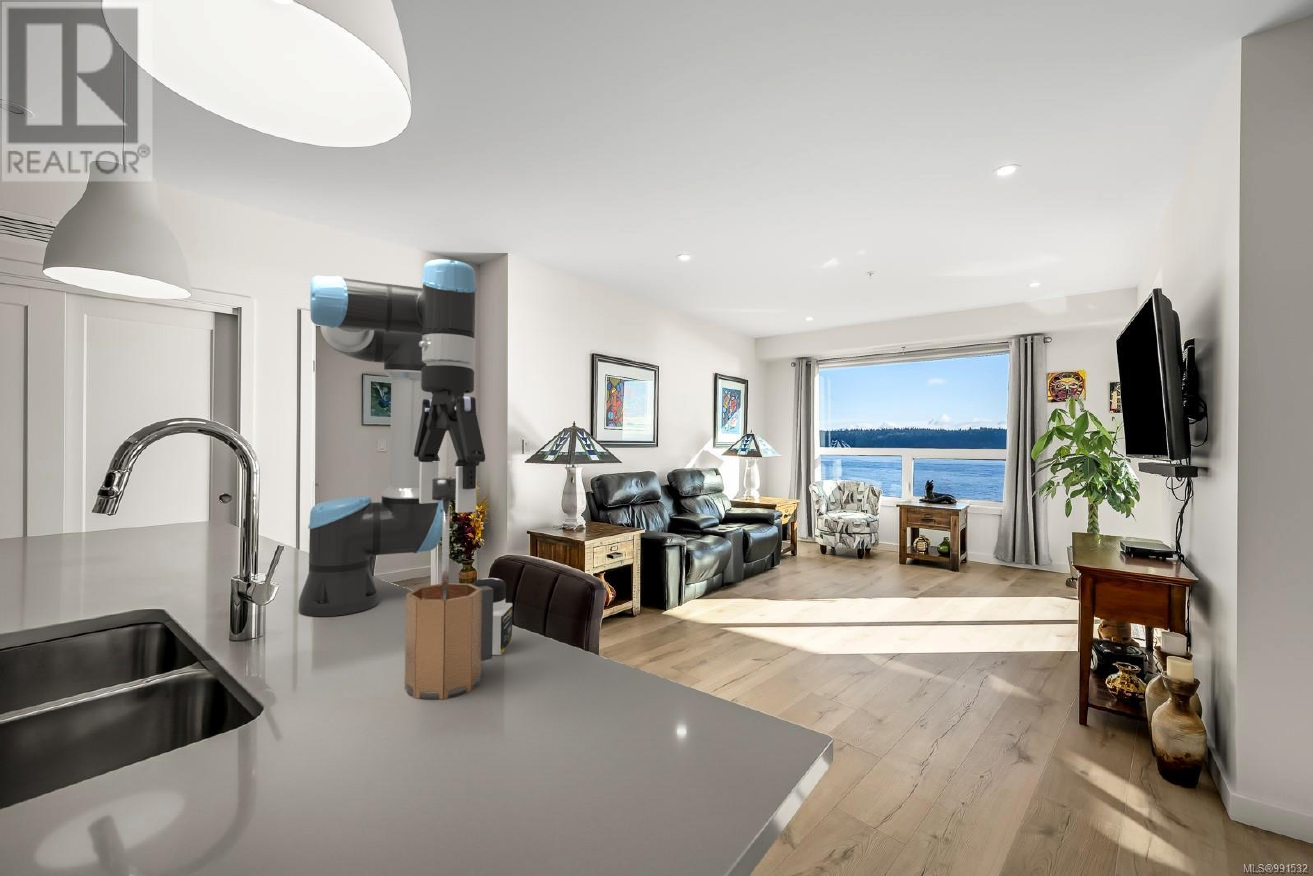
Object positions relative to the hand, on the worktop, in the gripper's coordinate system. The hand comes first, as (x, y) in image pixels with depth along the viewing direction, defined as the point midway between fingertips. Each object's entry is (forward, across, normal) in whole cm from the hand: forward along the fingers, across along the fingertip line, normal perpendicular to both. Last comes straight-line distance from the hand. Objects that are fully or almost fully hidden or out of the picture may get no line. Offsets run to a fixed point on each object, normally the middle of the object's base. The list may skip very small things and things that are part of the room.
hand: (446, 507), depth 89 cm
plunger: (+17, 0, 0) cm, 17 cm away
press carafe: (+27, 0, +1) cm, 27 cm away
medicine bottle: (+27, -10, +12) cm, 31 cm away
